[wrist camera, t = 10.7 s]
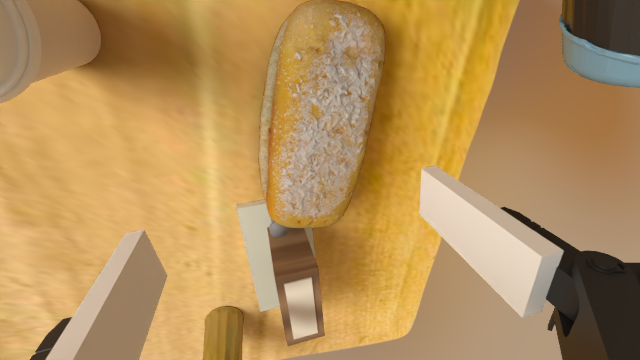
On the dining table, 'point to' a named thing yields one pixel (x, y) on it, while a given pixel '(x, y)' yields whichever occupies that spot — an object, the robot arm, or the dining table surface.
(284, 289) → the brown block
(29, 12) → the coffee cup
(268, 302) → the white board with pegs
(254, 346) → the dining table surface
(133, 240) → the robot arm
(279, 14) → the dining table surface
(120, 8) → the dining table surface
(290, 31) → the bread
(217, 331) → the vase
